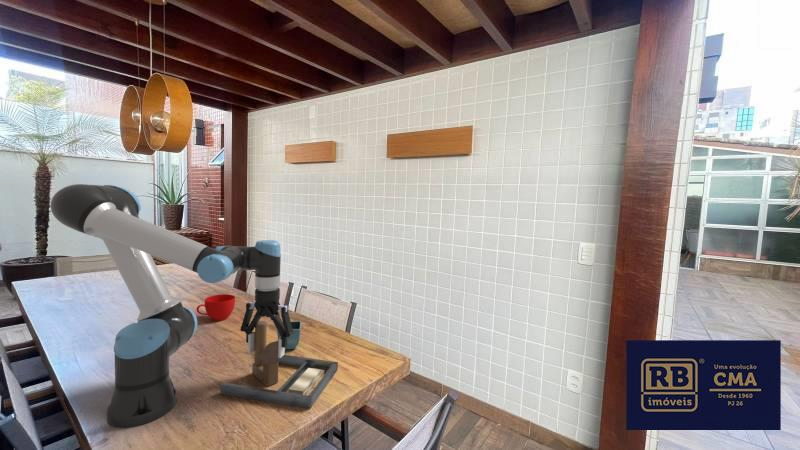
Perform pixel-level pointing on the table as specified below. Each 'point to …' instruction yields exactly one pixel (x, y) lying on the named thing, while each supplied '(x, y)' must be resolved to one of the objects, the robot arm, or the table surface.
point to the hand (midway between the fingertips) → (266, 354)
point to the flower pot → (293, 335)
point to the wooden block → (265, 356)
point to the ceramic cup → (218, 306)
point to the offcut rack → (287, 384)
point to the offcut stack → (306, 381)
